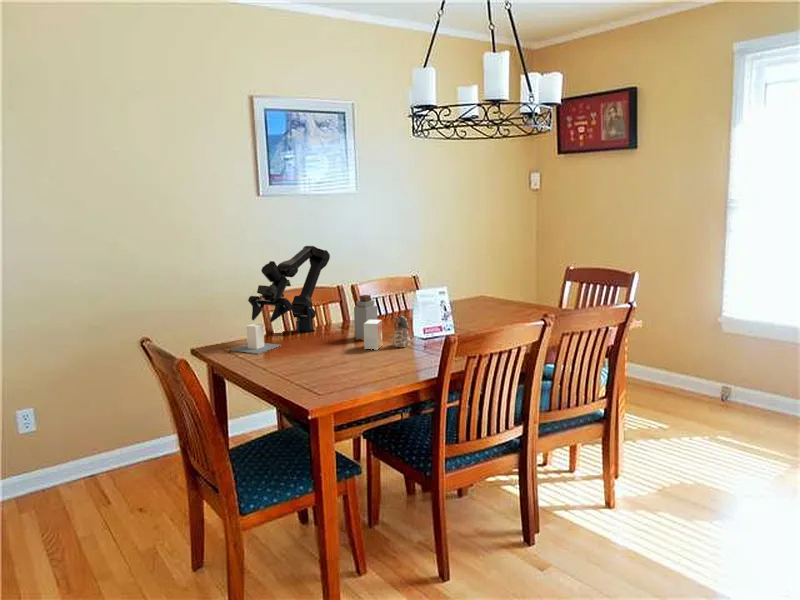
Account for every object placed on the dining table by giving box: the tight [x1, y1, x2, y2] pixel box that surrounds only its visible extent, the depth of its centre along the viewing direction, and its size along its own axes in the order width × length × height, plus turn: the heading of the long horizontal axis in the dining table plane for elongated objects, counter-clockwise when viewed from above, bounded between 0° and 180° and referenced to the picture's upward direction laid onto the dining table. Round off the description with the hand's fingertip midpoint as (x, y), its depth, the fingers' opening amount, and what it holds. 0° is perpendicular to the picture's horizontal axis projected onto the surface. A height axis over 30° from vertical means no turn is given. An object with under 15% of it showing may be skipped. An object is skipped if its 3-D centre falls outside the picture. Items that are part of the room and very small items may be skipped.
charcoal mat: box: [230, 342, 282, 355], centre depth 250 cm, size 14×14×1 cm
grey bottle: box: [353, 294, 379, 340], centre depth 261 cm, size 7×7×18 cm
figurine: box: [392, 315, 412, 348], centre depth 248 cm, size 7×7×12 cm
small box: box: [363, 319, 384, 351], centre depth 246 cm, size 8×6×10 cm
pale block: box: [245, 323, 265, 349], centre depth 249 cm, size 4×4×9 cm
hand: (261, 320), depth 252 cm, fingers open, 9 cm apart
